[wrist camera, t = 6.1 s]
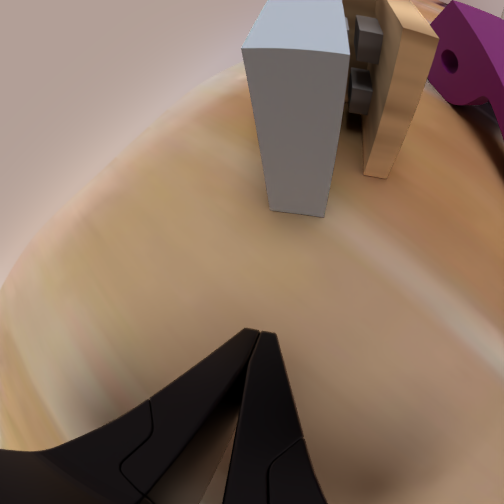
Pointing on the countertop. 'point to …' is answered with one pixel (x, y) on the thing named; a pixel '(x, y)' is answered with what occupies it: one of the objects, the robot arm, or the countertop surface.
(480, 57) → the mounting bracket
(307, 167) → the pale grey oblong block
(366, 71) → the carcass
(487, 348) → the countertop surface
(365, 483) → the countertop surface
